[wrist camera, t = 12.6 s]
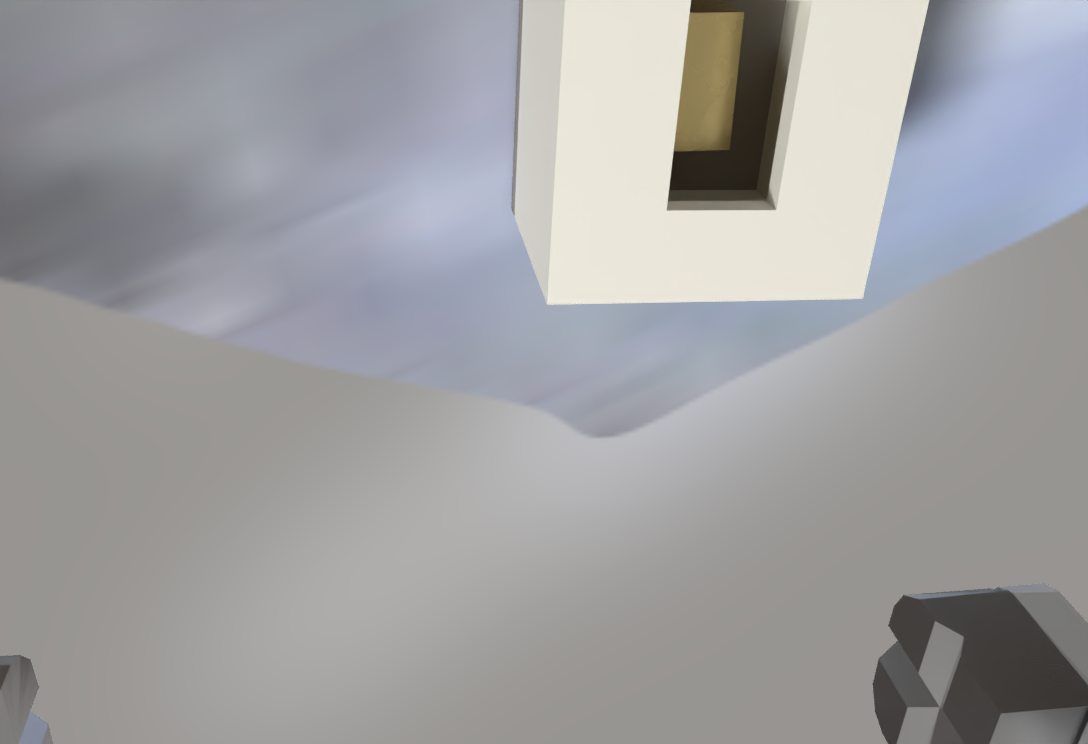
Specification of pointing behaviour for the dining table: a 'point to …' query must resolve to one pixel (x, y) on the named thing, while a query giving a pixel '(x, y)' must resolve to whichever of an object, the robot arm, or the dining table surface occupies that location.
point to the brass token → (709, 76)
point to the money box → (713, 175)
